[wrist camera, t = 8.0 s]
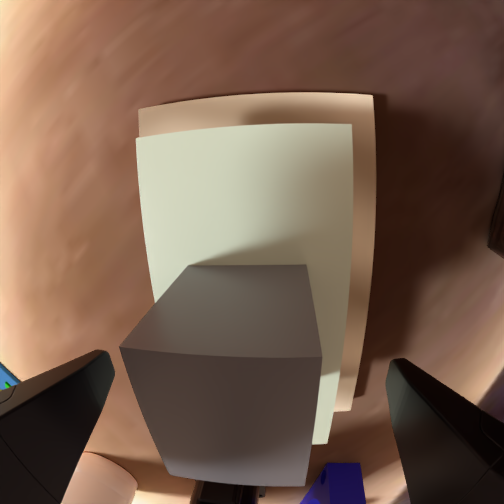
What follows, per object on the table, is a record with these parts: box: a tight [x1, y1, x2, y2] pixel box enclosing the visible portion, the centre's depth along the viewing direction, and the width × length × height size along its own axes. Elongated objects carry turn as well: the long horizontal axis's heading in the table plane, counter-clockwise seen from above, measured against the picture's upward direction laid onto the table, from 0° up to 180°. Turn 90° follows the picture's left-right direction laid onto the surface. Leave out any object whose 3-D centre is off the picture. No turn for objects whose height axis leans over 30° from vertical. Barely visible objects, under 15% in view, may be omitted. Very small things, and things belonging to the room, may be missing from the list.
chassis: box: [138, 92, 376, 412], centre depth 14 cm, size 18×11×4 cm, turn 3°
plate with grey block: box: [119, 123, 353, 486], centre depth 9 cm, size 7×14×6 cm, turn 3°
